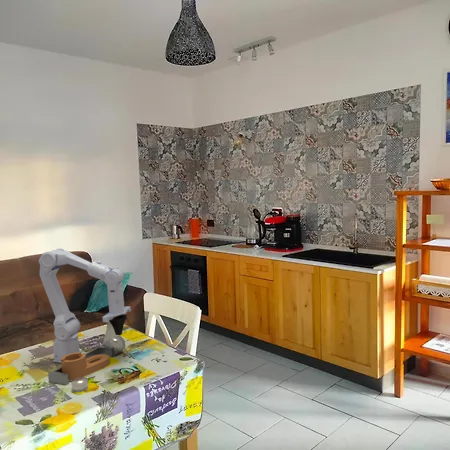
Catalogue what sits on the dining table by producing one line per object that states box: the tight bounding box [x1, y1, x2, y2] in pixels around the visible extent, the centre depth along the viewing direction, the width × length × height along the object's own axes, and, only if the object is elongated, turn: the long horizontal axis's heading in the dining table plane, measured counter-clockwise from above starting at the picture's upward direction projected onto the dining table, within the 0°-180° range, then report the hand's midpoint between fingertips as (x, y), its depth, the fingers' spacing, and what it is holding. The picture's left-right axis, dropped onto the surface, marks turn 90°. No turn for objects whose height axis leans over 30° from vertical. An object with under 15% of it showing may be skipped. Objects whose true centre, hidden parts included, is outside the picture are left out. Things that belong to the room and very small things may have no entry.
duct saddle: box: [47, 335, 126, 386], centre depth 154 cm, size 10×30×7 cm, turn 156°
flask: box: [102, 322, 118, 345], centre depth 178 cm, size 7×7×10 cm
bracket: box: [60, 352, 111, 381], centre depth 151 cm, size 18×8×7 cm, turn 141°
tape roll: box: [71, 376, 89, 393], centre depth 136 cm, size 5×5×3 cm
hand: (118, 334), depth 158 cm, fingers closed
